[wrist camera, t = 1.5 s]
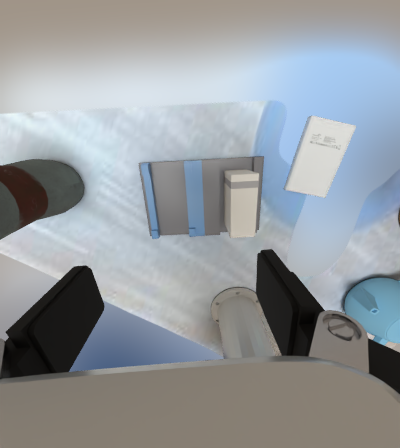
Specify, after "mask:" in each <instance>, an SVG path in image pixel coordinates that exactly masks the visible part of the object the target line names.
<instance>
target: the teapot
mask: <svg viewBox="0 0 400 448" xmlns="http://www.w3.org/2000/svg"><path fill="white" fill-rule="evenodd" d="M345 313H346V315H349V316H350V317H352V318H354V319H355V320H357V321H358V322H359V323H360V324H361V325H362V326H363V328H364V329H365V331H366V332H368V333H370V334H372V335H374V336H375V337H374V339H373V341H375V342H378V343H380V344H382V345H385V344H386V343H387V342H388V341H390V342H393V343H400V280H398V281H397V280H394V279H390V278H372V279H367V280H364V281H362V282H360V283H358V284H357V285H356V286H354V287H353V288H352V289H351V290H350V291H349V293H348V294H347V296H346V299H345Z"/></svg>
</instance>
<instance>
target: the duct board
mask: <svg viewBox="0 0 400 448" xmlns="http://www.w3.org/2000/svg"><path fill="white" fill-rule="evenodd" d="M263 162H264V157H244V158H226V159H207V160H189V161H171V162H152V163H139V169H140V175H141V181H142V187H143V193H144V200H145V206H146V212H147V218H148V224H149V230H150V236H152V239H157V238H159V237H160V235H177V234H189V236H190V237H192V236H204V235H220V232H228V230H227V228H226V226H225V223H224V171H226V170H244V169H247V170H250V171H253V172H256V173H259V187H258V198H257V213H256V229H255V233H257V230H259V219H260V205H261V190H262V176H263Z"/></svg>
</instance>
